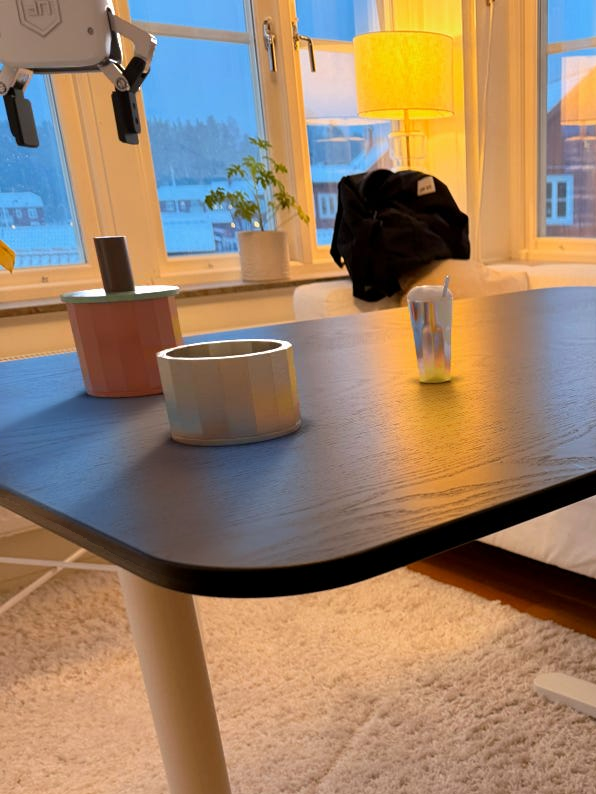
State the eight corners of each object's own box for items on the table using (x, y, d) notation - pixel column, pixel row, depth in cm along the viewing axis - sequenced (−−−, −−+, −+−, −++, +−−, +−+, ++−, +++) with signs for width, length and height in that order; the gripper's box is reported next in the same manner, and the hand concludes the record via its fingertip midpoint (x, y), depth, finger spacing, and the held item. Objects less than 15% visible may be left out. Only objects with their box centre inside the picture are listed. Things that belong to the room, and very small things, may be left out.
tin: (152, 448, 69) (135, 361, 66) (196, 418, 78) (182, 341, 75) (284, 443, 68) (272, 356, 65) (312, 415, 77) (303, 337, 75)
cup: (69, 399, 89) (46, 304, 85) (111, 380, 99) (93, 294, 95) (169, 395, 89) (151, 300, 85) (203, 377, 98) (187, 290, 94)
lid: (41, 311, 85) (24, 241, 82) (92, 300, 95) (78, 237, 93) (157, 307, 85) (143, 236, 82) (195, 296, 95) (185, 232, 92)
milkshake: (435, 387, 87) (428, 278, 83) (404, 381, 91) (396, 276, 86) (471, 380, 90) (466, 274, 85) (439, 374, 93) (433, 272, 89)
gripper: (-91, -94, 72) (-34, 145, 80) (116, -103, 72) (154, 138, 79) (-39, -67, 79) (9, 151, 86) (150, -75, 78) (183, 145, 86)
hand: (79, 145), depth 83 cm, fingers open, 9 cm apart
